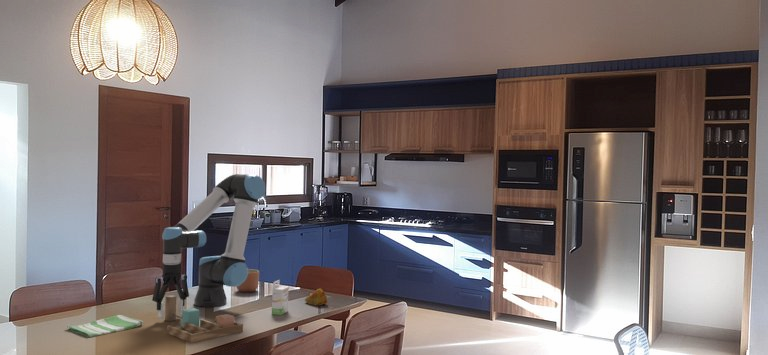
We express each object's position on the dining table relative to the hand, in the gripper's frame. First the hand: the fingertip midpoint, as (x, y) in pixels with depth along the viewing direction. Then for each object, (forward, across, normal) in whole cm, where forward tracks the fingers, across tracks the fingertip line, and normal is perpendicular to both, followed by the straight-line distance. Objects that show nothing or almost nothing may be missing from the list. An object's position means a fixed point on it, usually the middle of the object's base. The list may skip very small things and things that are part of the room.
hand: (170, 315), depth 253 cm
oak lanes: (+2, 0, -27) cm, 27 cm away
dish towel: (+3, -25, +6) cm, 26 cm away
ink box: (+2, +43, -21) cm, 48 cm away
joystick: (+2, 0, -8) cm, 8 cm away
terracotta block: (+2, +7, -30) cm, 31 cm away
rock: (+2, +69, -18) cm, 71 cm away
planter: (+2, +61, +29) cm, 68 cm away
